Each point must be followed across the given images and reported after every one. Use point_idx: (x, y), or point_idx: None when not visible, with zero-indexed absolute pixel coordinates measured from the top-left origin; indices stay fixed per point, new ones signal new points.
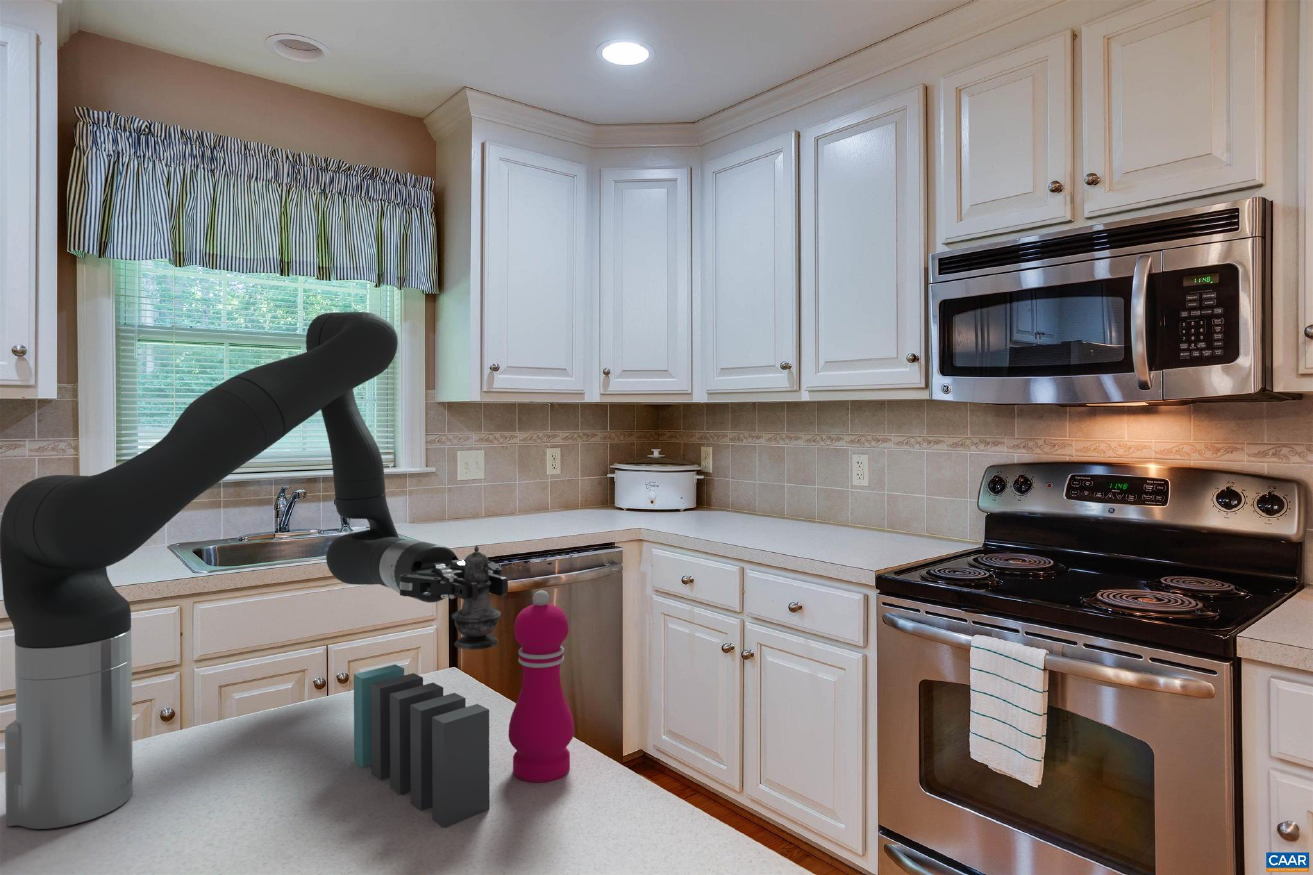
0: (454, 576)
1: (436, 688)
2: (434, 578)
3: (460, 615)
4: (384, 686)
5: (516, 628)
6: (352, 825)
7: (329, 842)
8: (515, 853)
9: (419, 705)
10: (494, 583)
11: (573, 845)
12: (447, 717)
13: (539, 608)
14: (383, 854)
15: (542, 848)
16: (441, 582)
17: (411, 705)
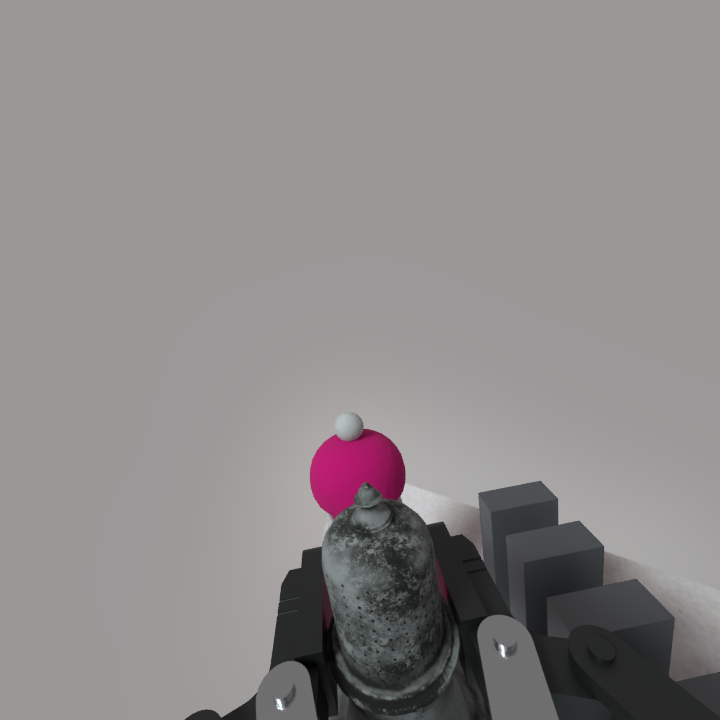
0: (490, 656)
1: (561, 598)
2: (610, 647)
3: (481, 701)
4: (718, 680)
5: (403, 463)
6: (683, 647)
7: (700, 619)
8: (477, 519)
9: (585, 539)
10: (328, 606)
11: (430, 510)
12: (535, 491)
13: (363, 430)
14: (609, 565)
15: (454, 516)
16: (567, 657)
17: (601, 544)
